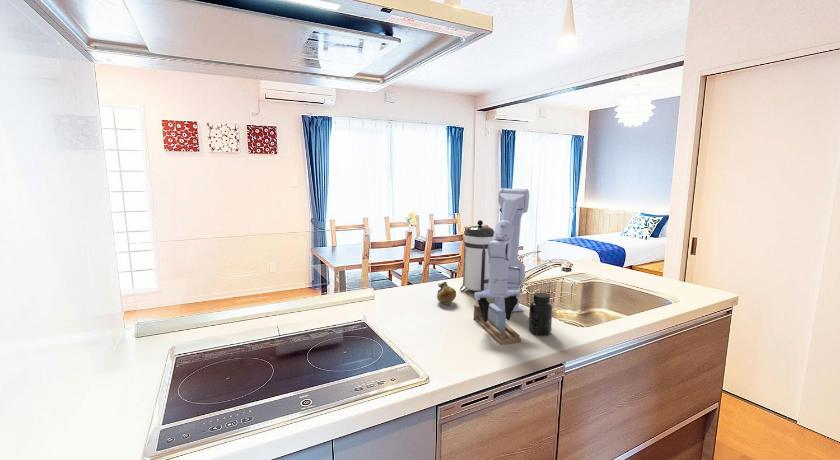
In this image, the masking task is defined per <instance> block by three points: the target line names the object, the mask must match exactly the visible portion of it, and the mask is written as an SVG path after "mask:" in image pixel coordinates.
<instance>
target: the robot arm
mask: <svg viewBox="0 0 840 460" xmlns="http://www.w3.org/2000/svg"><path fill="white" fill-rule="evenodd" d="M529 202H530V190H529V189H528V188H504V187H501V188H500V189H499V191H498V204H499V206H500V209H501V217H500V218H501V219H500V221H498V222H497V223H496V224H495V229H494V236H493V240H492V242H491V241H490V242H489V245H488V263H489V286H488V290H485V291H481V292H480V291H475V292H474V299H475V301H476V302H477V303H478V304H479V306H480V309H481V313H482V318H483V321H484V322H487V320H488V308H489V304H491V303H490V302H489V301H488V300H489V299H490V300H491V299H494V302H493V303H494V304H495V305H496V306H497V307H499V308H500V309H501V310H502V311H504V312H505V313H506V321H510V319H511V316H512V313H514V312H524V308H522V307H520V306H519V305H520V297H521V295H520V294H521V286H524V284H525V278H526V266H525V264H524V262H522V261H521V260H520V259H519V247H520V233H521V221H522V217H523V214H525V213H528V210H529V205H530V204H529Z"/></svg>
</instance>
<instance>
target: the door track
mask: <svg viewBox="0 0 840 460" xmlns="http://www.w3.org/2000/svg"><path fill="white" fill-rule="evenodd" d="M490 304H494V302H492V303H490ZM473 320H474V321H475V322H476V323H477V324H479V326H480V327H481V328H482V329H483V330H485V332H486V333H488V335H489V336H490V337H491V338H492V339H493V340H494V341H495V342H497V343H498V345H503V344H514V343H521V342H522V338H521V337H520V334H519V333H517V332H516V330H514V329H513V328H512V327H511V326H510V325H508V324H507V323H506V324H505V332H500V331H499V330H498V329H497V328H495V327H494V326H493V325H492V324H491V323H490V322H489V321H488V320H487V322H484V321H483V318H482V313H481V309H480V306H479V304H474V305H473Z"/></svg>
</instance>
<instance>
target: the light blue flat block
mask: <svg viewBox="0 0 840 460" xmlns="http://www.w3.org/2000/svg"><path fill="white" fill-rule="evenodd" d="M488 321H489V322H490V323H491V324H492V325H493V326H494V327H495V328H497V329H498V330H499V331H500V332H505V324H507V323H506V322H507V319H506V313H505V312H504V311H502V310H501V309H500V308H499V307H497V306H496V305H495V304H491V303H490V304H489V308H488Z"/></svg>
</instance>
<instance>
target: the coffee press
mask: <svg viewBox="0 0 840 460" xmlns="http://www.w3.org/2000/svg"><path fill="white" fill-rule="evenodd" d="M483 224H484V221H483V220H481V219H480V220H478V221H477V225H471V226H468V227H467V228H466V229H465V231H464V233H463V235H462V238H464V240H463V241H464V242H463V243H464V244H463V245H464V250H463V271H462V273H463V274H462V285H461V287H460V288H459V290H460V291H461V292H465V291H466V290H469V291H475V292H481V291H486V290H488V286H489V263H488V245H489V242H490V241H491V242H492V240H493V236H494V232H495V229H493V227H490V226H485V225H483Z"/></svg>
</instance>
